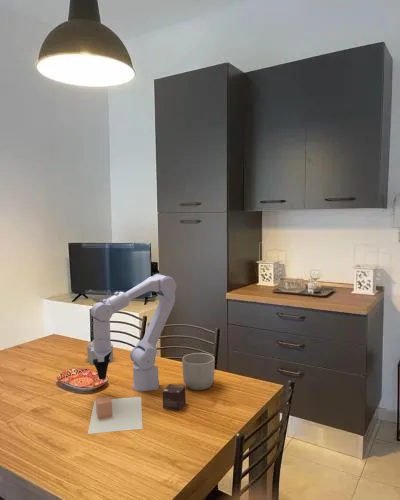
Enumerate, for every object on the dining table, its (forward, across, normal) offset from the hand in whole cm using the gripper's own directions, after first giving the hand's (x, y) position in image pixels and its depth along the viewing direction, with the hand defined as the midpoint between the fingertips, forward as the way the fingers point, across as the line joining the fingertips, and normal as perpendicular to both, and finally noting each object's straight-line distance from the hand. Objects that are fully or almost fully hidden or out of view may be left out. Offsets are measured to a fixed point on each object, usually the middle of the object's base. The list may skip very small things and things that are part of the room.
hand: (103, 374), depth 142 cm
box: (+10, +11, +24) cm, 28 cm away
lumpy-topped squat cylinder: (+10, -43, -5) cm, 44 cm away
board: (+9, +13, +5) cm, 17 cm away
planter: (+10, -6, +35) cm, 37 cm away
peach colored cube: (+8, +13, +1) cm, 15 cm away
